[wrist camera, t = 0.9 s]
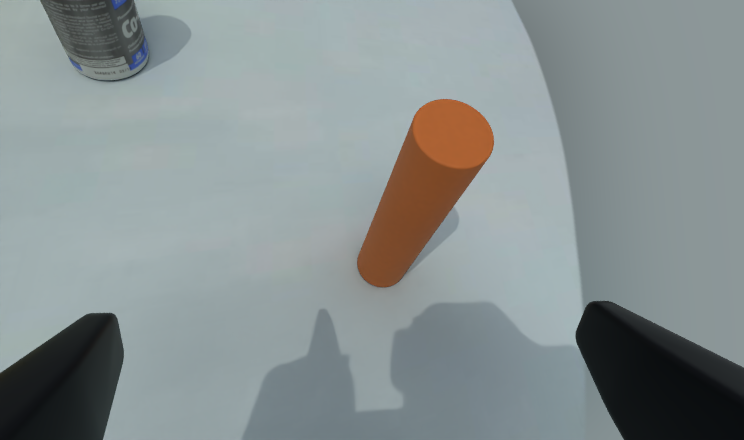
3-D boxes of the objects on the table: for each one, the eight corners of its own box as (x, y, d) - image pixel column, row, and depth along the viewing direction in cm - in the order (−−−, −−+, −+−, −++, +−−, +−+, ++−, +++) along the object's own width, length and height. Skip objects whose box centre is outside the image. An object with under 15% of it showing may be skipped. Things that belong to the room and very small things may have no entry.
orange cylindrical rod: (412, 278, 26) (509, 157, 15) (368, 294, 25) (434, 177, 14) (393, 235, 27) (471, 91, 16) (350, 249, 26) (399, 106, 15)
